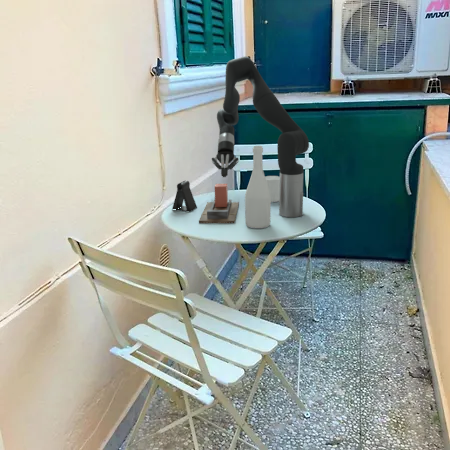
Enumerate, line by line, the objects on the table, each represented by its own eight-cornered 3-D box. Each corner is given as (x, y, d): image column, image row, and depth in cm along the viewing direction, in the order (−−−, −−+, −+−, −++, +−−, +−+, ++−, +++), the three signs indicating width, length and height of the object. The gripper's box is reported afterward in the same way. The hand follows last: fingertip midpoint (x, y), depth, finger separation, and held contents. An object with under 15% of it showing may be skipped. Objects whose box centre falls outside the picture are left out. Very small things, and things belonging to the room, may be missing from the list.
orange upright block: (227, 203, 192) (227, 183, 189) (226, 207, 188) (226, 186, 185) (216, 203, 193) (215, 183, 190) (215, 207, 188) (214, 186, 185)
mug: (252, 200, 202) (252, 178, 198) (260, 196, 208) (260, 174, 205) (276, 203, 196) (277, 180, 192) (283, 198, 203) (284, 176, 199)
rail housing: (238, 204, 196) (238, 195, 194) (234, 223, 171) (234, 213, 170) (207, 204, 197) (207, 195, 196) (198, 223, 172) (198, 213, 171)
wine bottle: (247, 220, 174) (246, 144, 164) (271, 221, 172) (272, 144, 162) (243, 228, 165) (243, 148, 155) (269, 229, 163) (270, 148, 154)
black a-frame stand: (197, 208, 192) (195, 181, 188) (190, 212, 187) (189, 184, 183) (178, 206, 196) (177, 179, 192) (172, 210, 190) (170, 182, 186)
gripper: (211, 140, 204) (208, 171, 197) (239, 139, 203) (238, 171, 196) (212, 149, 211) (210, 180, 204) (240, 149, 210) (239, 180, 202)
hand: (224, 176), depth 200 cm, fingers closed
